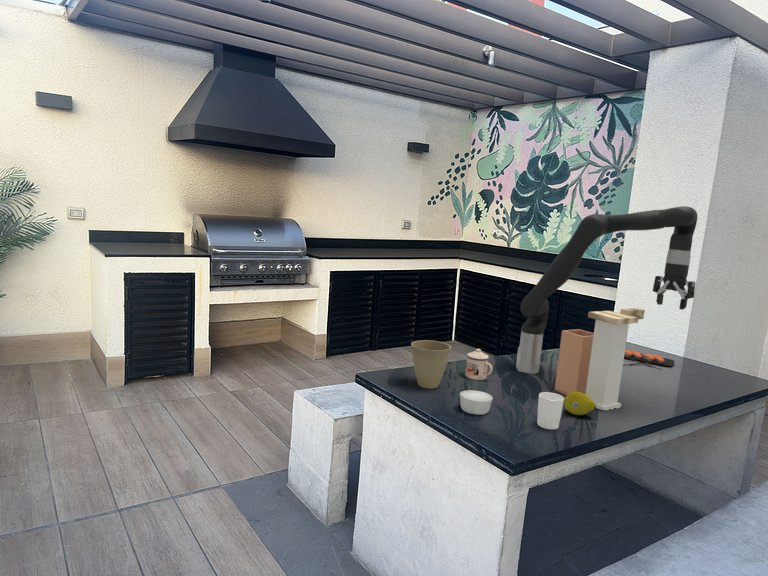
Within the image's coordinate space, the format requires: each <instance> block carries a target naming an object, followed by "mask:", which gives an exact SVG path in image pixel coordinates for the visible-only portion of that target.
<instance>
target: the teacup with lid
mask: <svg viewBox="0 0 768 576" xmlns="http://www.w3.org/2000/svg"><path fill="white" fill-rule="evenodd" d="M489 359H490V357H489V355H488V354H487V353H484V352H483V351H482V349H480V348H476V349H475V350H474V351H472V352H468V353H467V354H466V362H465V372H464V375H465V377H466V378H468V379H470V380H475V381H482V380H486V379H487V376H488V375H489V376H490V375H491V373H492V372H493V364H492V363H490V362H489ZM488 367H489V371H488Z"/></svg>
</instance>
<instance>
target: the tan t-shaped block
mask: <svg viewBox="0 0 768 576" xmlns="http://www.w3.org/2000/svg"><path fill="white" fill-rule="evenodd" d="M644 317H645V309H643V308H638V307H636V308H634V307H633V308H621V309H620V311H619V312H617V311H613V310H602V311H600V310H597V311H588V314H587V318H589V319H593V320H595V321H596V320H600V321H604V322H608V323H612V324H616V325H619V324H629V325H631V324H638V323H639V320H644Z"/></svg>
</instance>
